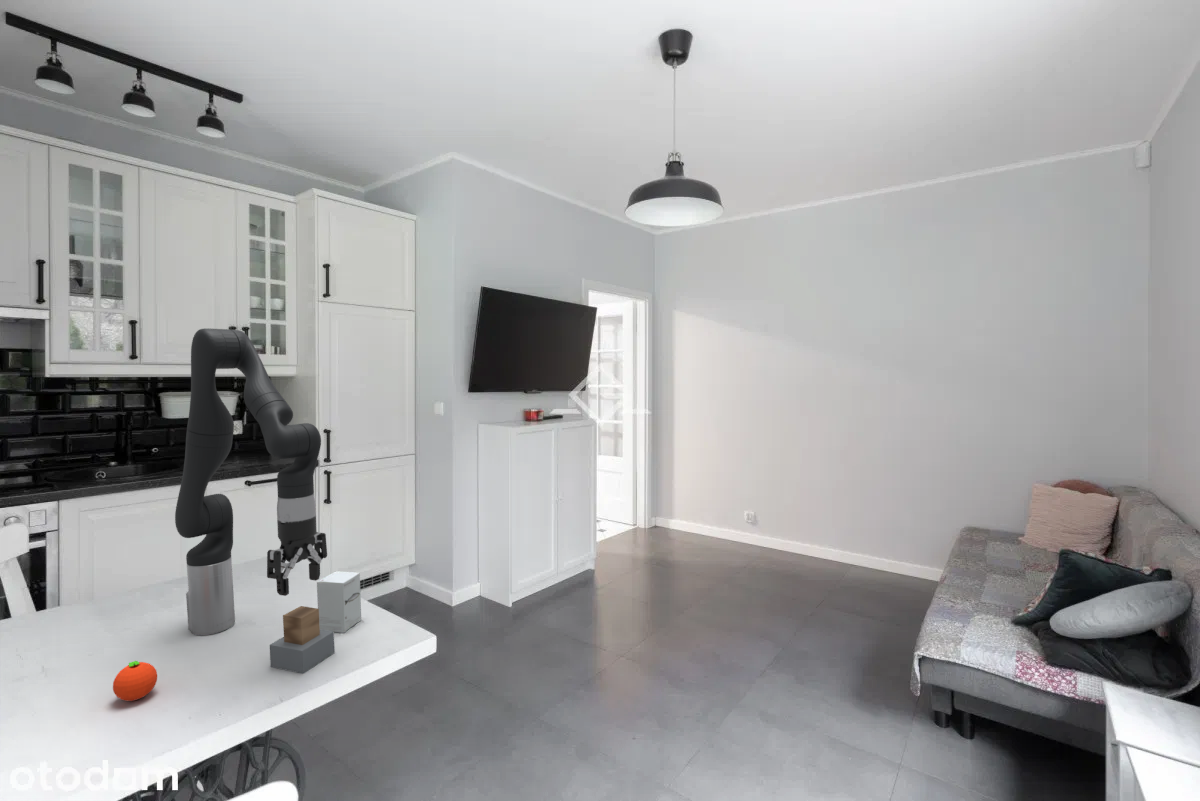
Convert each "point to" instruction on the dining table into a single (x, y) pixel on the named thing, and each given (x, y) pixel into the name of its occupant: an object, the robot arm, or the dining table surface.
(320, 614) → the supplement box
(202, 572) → the robot arm
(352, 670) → the dining table surface
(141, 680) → the clementine
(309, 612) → the walnut block
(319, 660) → the base
